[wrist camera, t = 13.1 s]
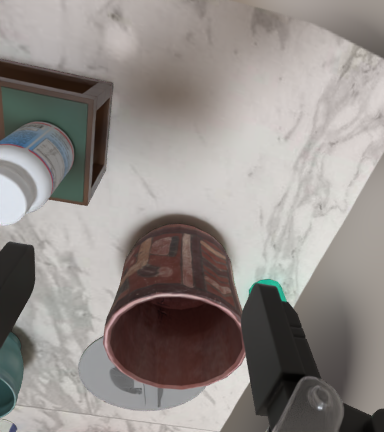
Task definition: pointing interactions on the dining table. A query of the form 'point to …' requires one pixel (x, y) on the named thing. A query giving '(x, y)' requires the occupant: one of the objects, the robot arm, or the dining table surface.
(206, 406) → the dining table surface
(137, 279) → the pottery
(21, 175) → the pill bottle
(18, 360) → the flower pot
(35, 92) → the stand
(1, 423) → the water bottle
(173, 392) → the plate
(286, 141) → the dining table surface
